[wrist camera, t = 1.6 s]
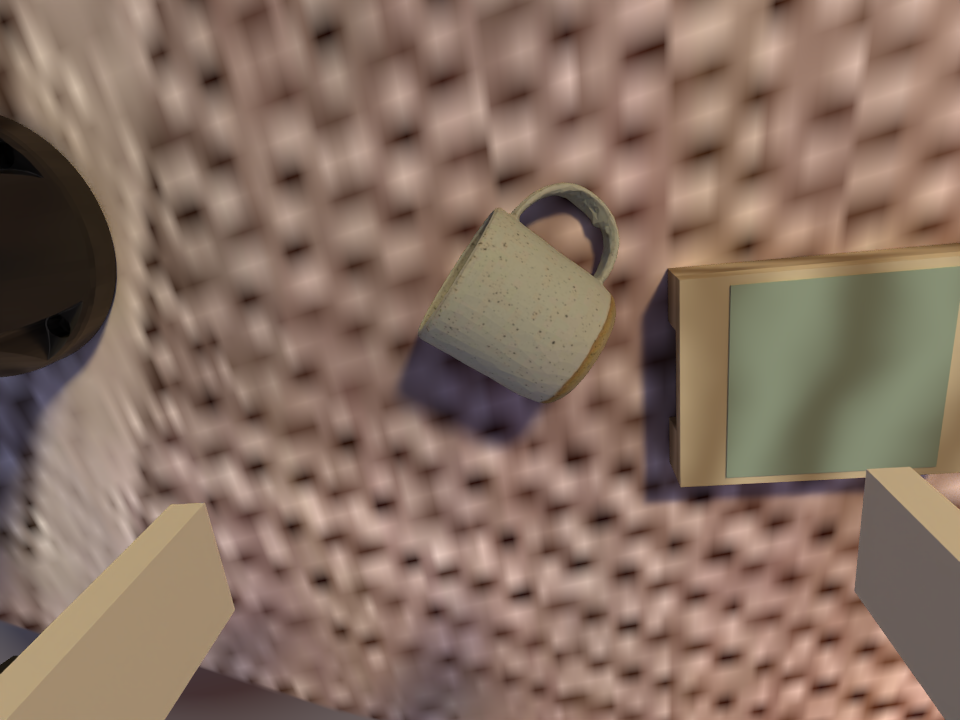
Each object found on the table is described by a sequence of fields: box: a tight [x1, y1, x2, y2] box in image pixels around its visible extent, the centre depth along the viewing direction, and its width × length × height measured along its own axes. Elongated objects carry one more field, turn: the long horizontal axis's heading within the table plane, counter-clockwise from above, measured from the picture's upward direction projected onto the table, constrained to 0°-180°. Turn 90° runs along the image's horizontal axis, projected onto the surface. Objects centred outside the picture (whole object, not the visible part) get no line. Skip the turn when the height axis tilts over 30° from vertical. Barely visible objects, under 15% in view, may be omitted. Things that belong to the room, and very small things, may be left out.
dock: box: [668, 243, 960, 487], centre depth 35 cm, size 16×12×3 cm
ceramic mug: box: [418, 183, 619, 403], centre depth 32 cm, size 11×8×8 cm
